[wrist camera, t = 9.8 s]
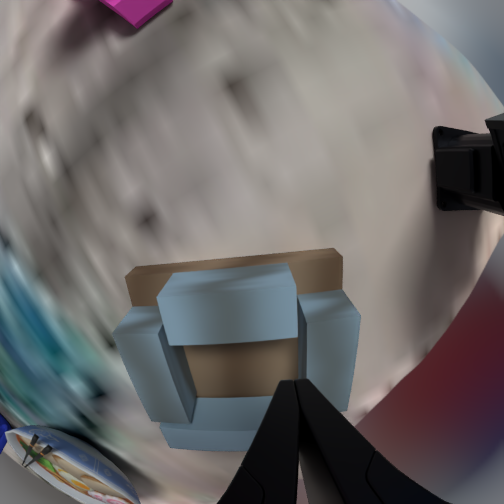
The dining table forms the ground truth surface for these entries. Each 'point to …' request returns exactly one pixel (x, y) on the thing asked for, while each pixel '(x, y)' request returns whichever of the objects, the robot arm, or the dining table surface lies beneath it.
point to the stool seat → (237, 330)
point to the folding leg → (218, 424)
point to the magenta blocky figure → (136, 9)
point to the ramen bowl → (72, 465)
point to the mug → (3, 432)
